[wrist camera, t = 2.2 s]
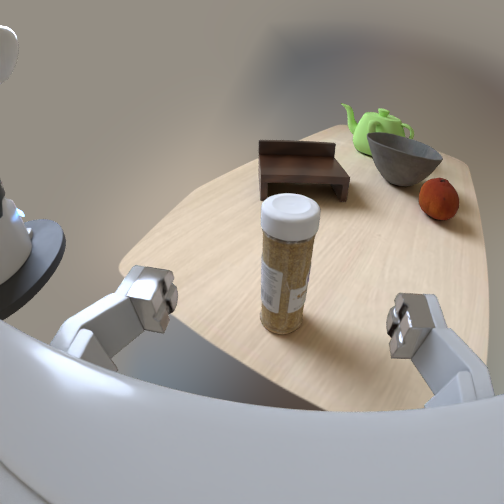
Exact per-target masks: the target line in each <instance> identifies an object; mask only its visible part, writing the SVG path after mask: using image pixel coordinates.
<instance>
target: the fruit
mask: <svg viewBox="0 0 504 504" xmlns="http://www.w3.org/2000/svg"><path fill="white" fill-rule="evenodd" d="M419 205H420V207H421V209H422V210H423V211H424V212H425V213H426V214H428V215H429V216H431V217H432V218H434V219H438V220H448V219H450V218H452V217H454V216H455V214H456V213H457V211H458V208H459V197H458V194H457V192H456V190H455V189H454V187H453V186H452V185H451V184H450V183H449V181H448V180H446V179H443V178H434V179H430V180H428V181H426V182H425V183H424V184H423V185H422V187H421V190H420V193H419Z"/></svg>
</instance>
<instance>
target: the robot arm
mask: <svg viewBox="0 0 504 504" xmlns="http://www.w3.org/2000/svg"><path fill="white" fill-rule="evenodd" d="M18 54H19V44H18V40H17V37H16V35H15V33H14V32H13V31H12V30H11V29H9V28H8V27H5V26H0V84H1V83H3V82H4V81H6V80H7V79H8V78H9V77H10V75H11V74H12V72H13V70H14V68H15V65H16V63H17V59H18ZM4 196H5V191H4V188H3V184H2V182H1V180H0V285H1V284H2V283H4V282H5V281H6V280H8V279H9V278H10V277H11V276H13V275H14V274H15V273H16V272H17V271H18V270H19V269H20V268H21V266H22V265H23V264H24V263H25V261H26V260H27V258H28V256H29V255H30V252H31V249H32V243H31V238H32V236H33V231H32V229H31V228H26V227H25V225H24V223H23V221H22V219H21V217H20V215H21V216H23V217H24V214H23V212H22V211H20V210H19V209H17V208H16V206H15V204H14V202H13V201H12V200H10V199H7V198H5V197H4ZM173 280H174V276H173V272H172V271H170V270H165V269H158V268H152V267H144V266H138V265H135V266H133V267H132V268H131V270H130V271H129V273H128V274H127V276H126V277H125V279H124V280H123V282H122V283H121V285H120V286H119V288H118V289H117V291H116V292H115V294H112V293H111V294H109V295H107V296H106V297H104V298H103V299H101V300H99V301H97V302H96V303H94V304H92V305H90V306H89V307H87V308H85V309H84V310H82V311H80V312H79V313H77V314H75V315H74V316H72V317H70V318H69V319H67V320H65V321H64V323H63V324H62V326H61V328H60V329H59V331H58V332H57V334H56V335H55V337H54V339H53V340H52V342H51V343H50V345H48V344H46V343H44V342H42V341H40V340H38V339H36V338H34V337H32V336H30V335H28V334H26V333H24V332H22V331H20V330H18V329H17V328H15V327H13V326H11V325H9V324H8V323H6V322H4V321H2V320H1V319H0V504H504V394H501V395H497V396H495V394H494V389H493V385H492V382H491V377H490V374H489V370H488V367H487V366H486V365H485V364H484V363H483V361H482V360H481V359H480V358H479V357H478V356H477V355H476V354H475V353H474V352H473V351H472V350H471V349H470V348H469V346H468V345H467V344H466V343H465V342H464V341H463V340H462V339H461V338H460V337H459V336H458V335H457V334H456V333H455V332H454V331H453V330H452V329H451V328H447V324H446V321H445V319H444V316H443V313H442V310H441V307H440V304H439V302H438V299H437V297H436V296H435V295H434V294H413V293H398V294H397V296H396V298H395V300H394V301H395V306H394V307H392V308H391V309H390V311H389V313H388V316H387V321H386V328H387V334H388V335H389V336H390V337H391V338H392V339H391V341H390V342H389V347H390V353H391V358H397V359H411V361H412V362H413V364H414V365H415V367H416V368H417V370H418V371H419V372H420V374H421V375H422V377H423V378H424V380H425V381H426V383H427V384H428V386H429V387H430V389H431V391H432V392H433V394H434V396H433V397H432V398H431V399H430V400H429V401H428V402H427V403H426V404H425V405H424V408H421V409H410V410H397V411H377V412H332V411H311V410H296V409H285V408H275V407H267V406H259V405H252V404H245V403H239V402H233V401H226V400H221V399H216V398H211V397H206V396H201V395H196V394H192V393H188V392H183V391H179V390H175V389H171V388H167V387H163V386H160V385H156V384H152V383H149V382H146V381H142V380H139V379H136V378H132V377H129V376H126V375H123V374H120V373H117V371H118V369H117V367H116V365H115V364H114V362H113V361H112V360H111V358H112V357H113V356H114V355H116V354H117V353H118V352H119V351H120V350H122V349H123V348H124V347H125V346H127V345H128V344H129V343H130V342H131V341H133V340H134V339H135V338H136V337H137V336H139V335H140V334H141V333H142V332H143V331H144V330H148V331H152V332H158V333H164V332H165V330H166V328H167V326H168V323H169V321H170V319H169V316H168V315H169V314H170V313H172V312H174V310H175V308H176V306H177V301H178V291H177V287H176V286H175V285H174V284H173V283H172V282H173Z"/></svg>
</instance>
